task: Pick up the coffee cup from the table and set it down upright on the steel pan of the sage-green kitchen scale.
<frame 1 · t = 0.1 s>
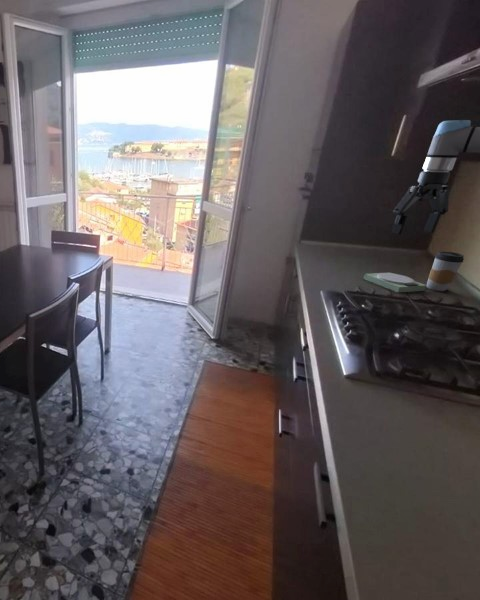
hand: (412, 232, 130), 26 cm above the worktop, tool pointing down, fingers open, 13 cm apart
coffee cup: (435, 288, 149), on the worktop
kitchen scale: (392, 284, 153), on the worktop
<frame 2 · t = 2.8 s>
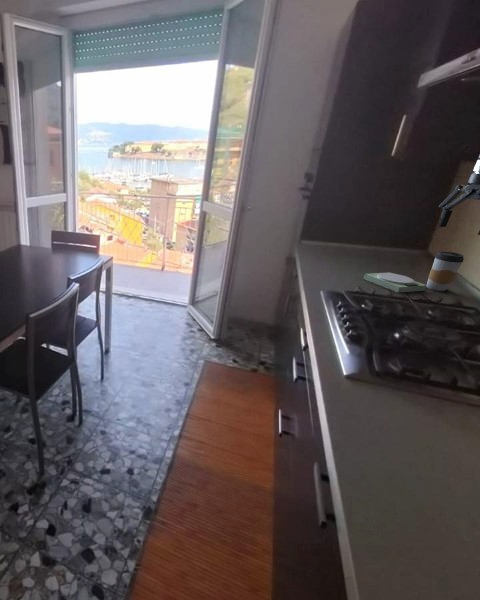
hand: (460, 230, 138), 25 cm above the worktop, tool pointing down, fingers open, 13 cm apart
nothing on the worktop moved.
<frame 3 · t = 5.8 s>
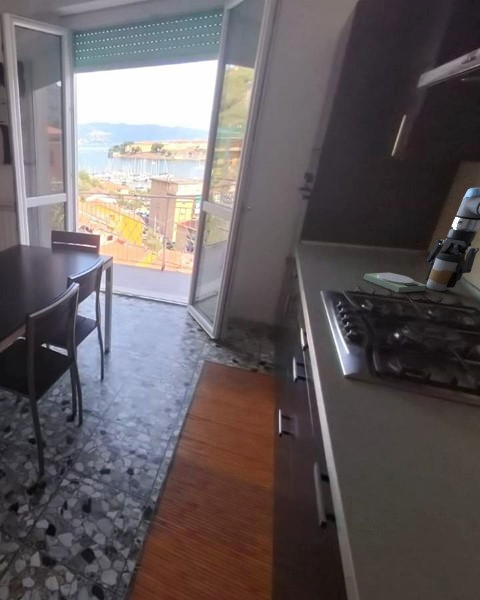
hand: (439, 283, 148), 2 cm above the worktop, tool pointing down, fingers closed on coffee cup, 7 cm apart
coffee cup: (435, 288, 149), on the worktop, touching gripper
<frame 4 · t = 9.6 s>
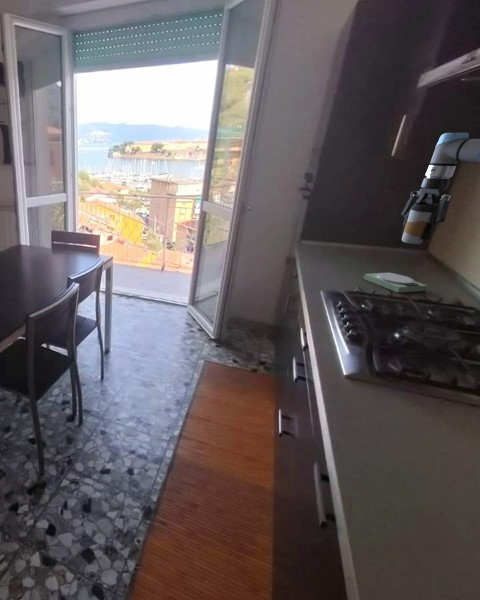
hand: (414, 236, 144), 21 cm above the worktop, tool pointing down, fingers closed on coffee cup, 7 cm apart
coffee cup: (410, 242, 145), point 19 cm above the worktop, touching gripper
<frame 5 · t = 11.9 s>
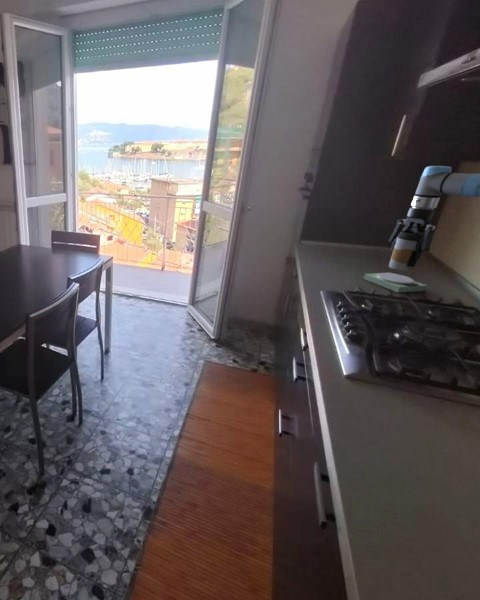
hand: (401, 263, 149), 10 cm above the worktop, tool pointing down, fingers closed on coffee cup, 7 cm apart
coffee cup: (397, 268, 150), point 7 cm above the worktop, touching gripper
when the fingers open (5 cm above the worktop, at t = 13.4 s): coffee cup stays where it is, resting on kitchen scale.
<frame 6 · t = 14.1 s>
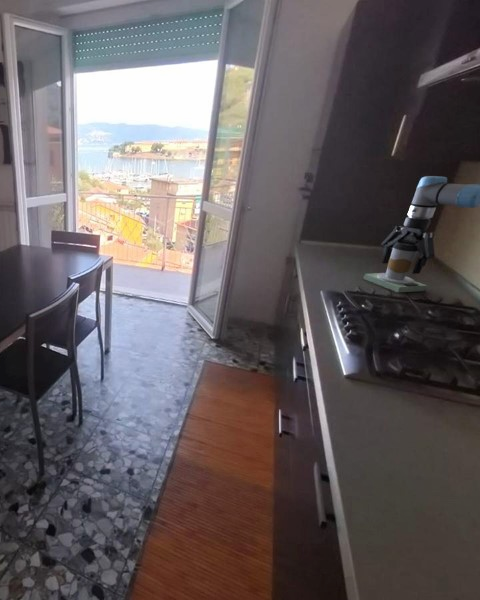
hand: (399, 268, 150), 8 cm above the worktop, tool pointing down, fingers open, 13 cm apart
coffee cup: (394, 278, 152), point 3 cm above the worktop, touching kitchen scale
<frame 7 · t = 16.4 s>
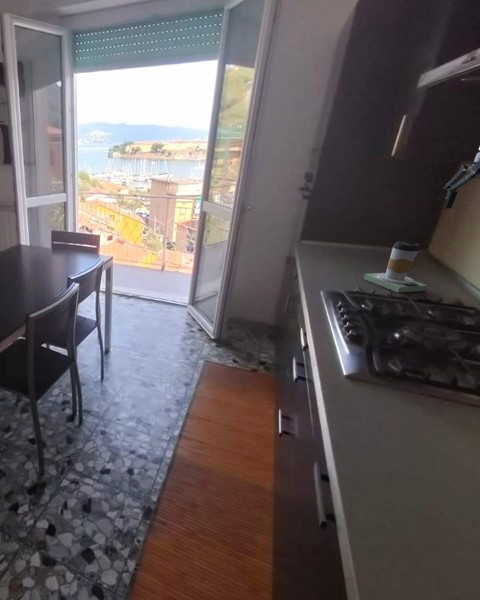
hand: (467, 211, 137), 32 cm above the worktop, tool pointing down, fingers open, 13 cm apart
nothing on the worktop moved.
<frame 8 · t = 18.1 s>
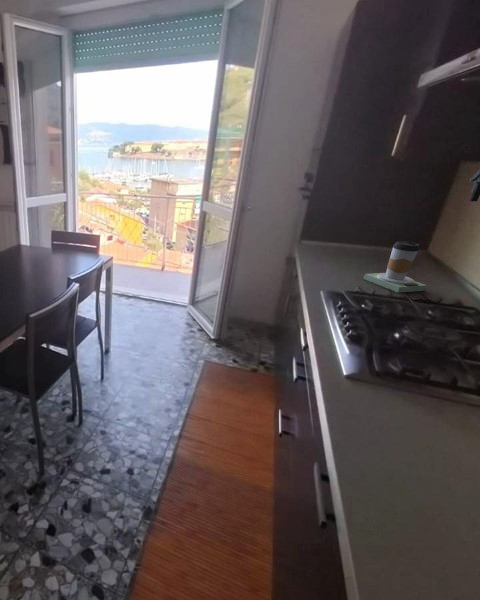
nothing on the worktop moved.
at the end: coffee cup inside the target area on the kitchen scale (0.4 cm from its centre), point 3.0 cm above the kitchen scale's base; coffee cup tilted 0°; the gripper is holding nothing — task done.
